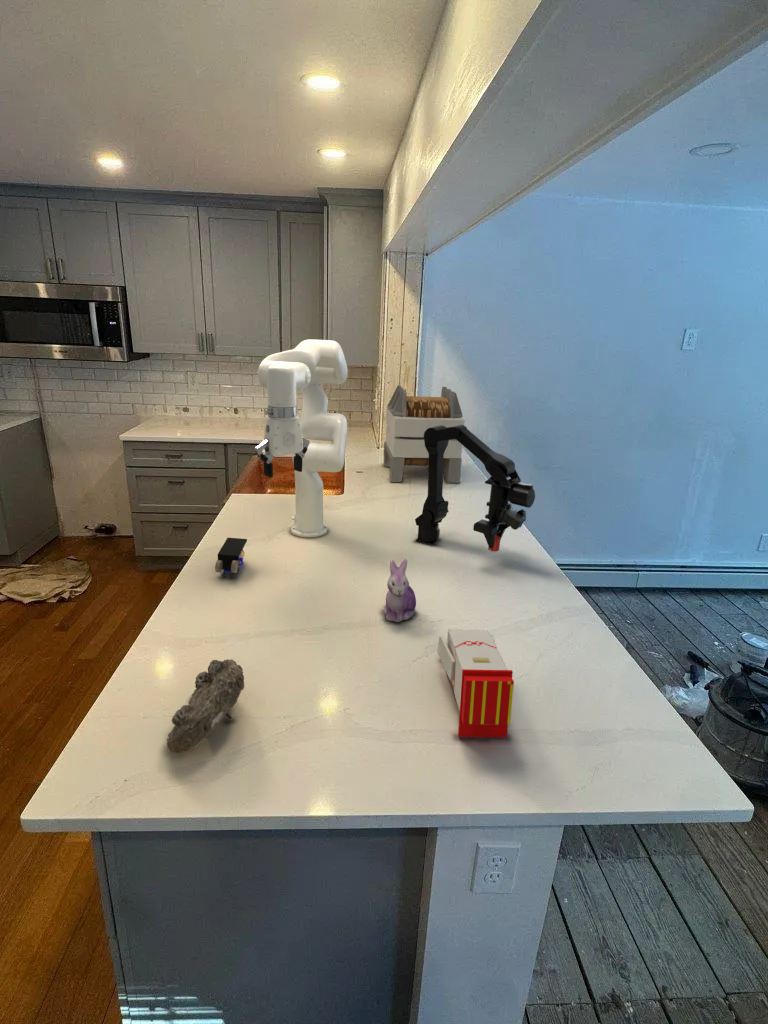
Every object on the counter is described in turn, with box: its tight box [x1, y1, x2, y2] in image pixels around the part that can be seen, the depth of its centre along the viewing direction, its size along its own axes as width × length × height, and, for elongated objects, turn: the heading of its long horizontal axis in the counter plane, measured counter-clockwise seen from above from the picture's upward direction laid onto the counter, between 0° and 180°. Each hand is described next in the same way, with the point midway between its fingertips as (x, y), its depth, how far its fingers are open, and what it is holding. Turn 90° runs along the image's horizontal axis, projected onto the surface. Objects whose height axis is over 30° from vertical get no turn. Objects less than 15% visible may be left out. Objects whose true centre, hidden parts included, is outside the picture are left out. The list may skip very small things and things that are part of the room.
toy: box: [437, 628, 515, 738], centre depth 117 cm, size 12×13×30 cm
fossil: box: [166, 658, 245, 754], centre depth 106 cm, size 22×10×15 cm
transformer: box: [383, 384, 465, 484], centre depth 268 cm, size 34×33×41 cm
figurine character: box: [214, 537, 248, 578], centre depth 166 cm, size 7×8×15 cm
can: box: [487, 535, 502, 553], centre depth 179 cm, size 4×4×4 cm
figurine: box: [384, 558, 417, 623], centre depth 145 cm, size 9×10×15 cm
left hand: (283, 473), depth 158 cm, fingers open, 9 cm apart
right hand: (493, 546), depth 179 cm, fingers closed on can, 3 cm apart
